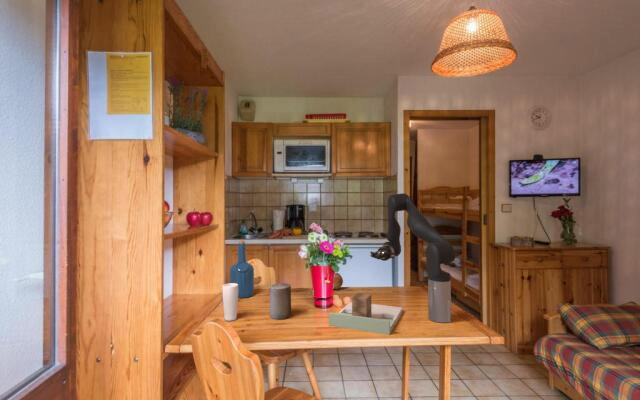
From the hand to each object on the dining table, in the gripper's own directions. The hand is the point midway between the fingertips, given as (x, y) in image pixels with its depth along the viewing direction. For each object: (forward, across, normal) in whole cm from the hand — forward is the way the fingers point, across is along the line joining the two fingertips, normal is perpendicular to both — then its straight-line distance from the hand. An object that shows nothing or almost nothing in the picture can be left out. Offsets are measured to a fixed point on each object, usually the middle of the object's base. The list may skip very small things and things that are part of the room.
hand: (378, 257), depth 168 cm
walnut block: (+28, 0, +22) cm, 36 cm away
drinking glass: (+44, -55, +24) cm, 74 cm away
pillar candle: (+32, -37, +24) cm, 54 cm away
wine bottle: (+11, -73, +24) cm, 78 cm away
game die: (+1, -31, +24) cm, 39 cm away
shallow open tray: (+19, 0, +24) cm, 30 cm away
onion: (-21, -31, +24) cm, 45 cm away
